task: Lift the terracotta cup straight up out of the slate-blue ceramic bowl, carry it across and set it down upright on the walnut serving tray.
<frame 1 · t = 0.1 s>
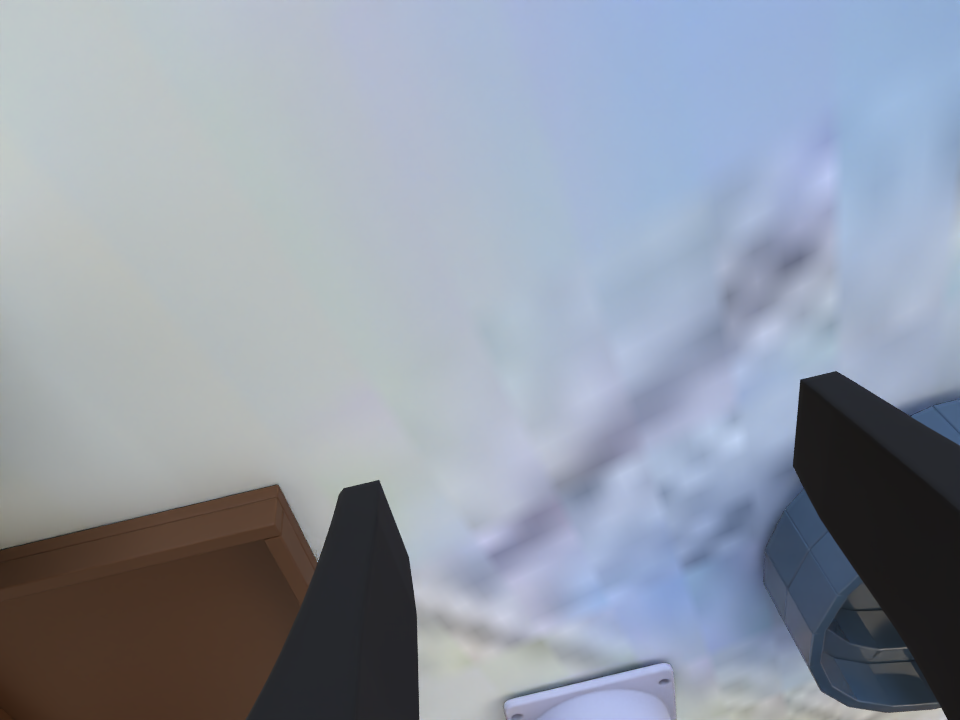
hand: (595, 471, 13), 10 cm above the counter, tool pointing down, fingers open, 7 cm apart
bowl: (921, 516, 32), on the counter
tray: (174, 663, 31), on the counter
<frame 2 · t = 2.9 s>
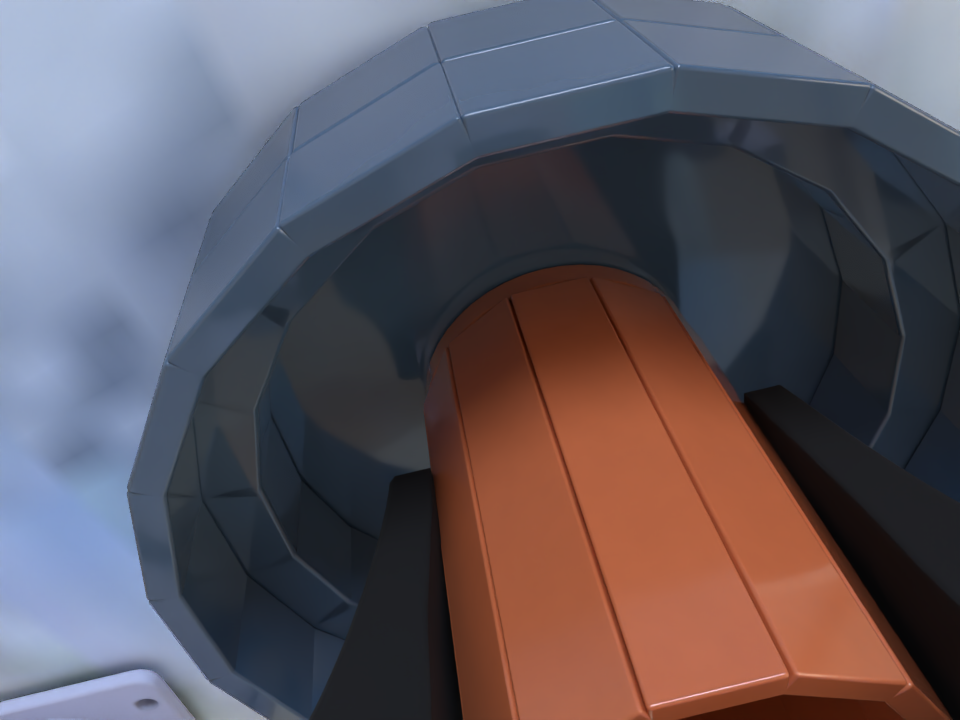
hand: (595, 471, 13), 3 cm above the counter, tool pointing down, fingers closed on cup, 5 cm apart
bowl: (556, 366, 15), on the counter
cup: (559, 382, 15), point 1 cm above the counter, touching bowl, gripper
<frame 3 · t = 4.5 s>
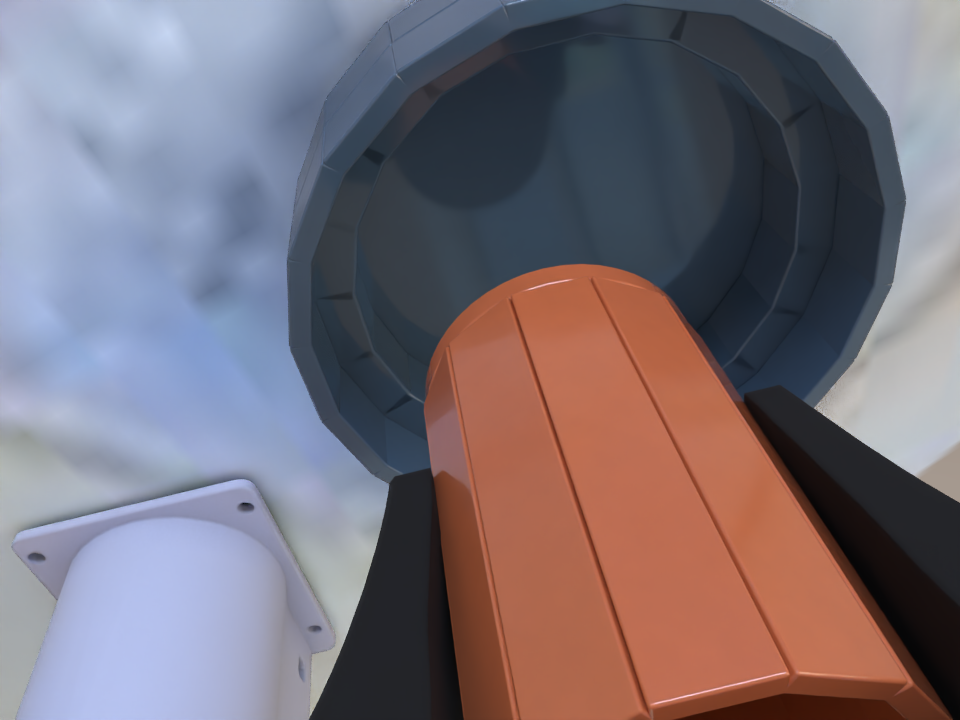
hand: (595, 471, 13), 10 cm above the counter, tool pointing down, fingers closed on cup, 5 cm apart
bowl: (559, 227, 21), on the counter
cup: (560, 381, 15), point 7 cm above the counter, touching gripper
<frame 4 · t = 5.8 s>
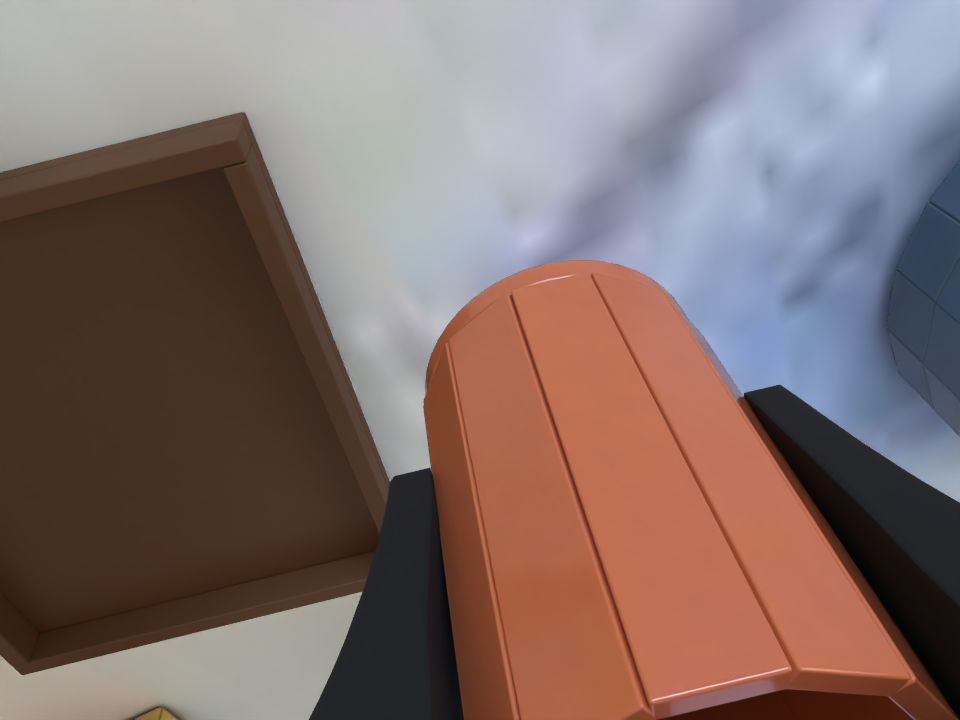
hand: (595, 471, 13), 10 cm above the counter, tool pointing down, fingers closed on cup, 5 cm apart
cup: (560, 378, 15), point 7 cm above the counter, touching gripper
tray: (119, 425, 23), on the counter
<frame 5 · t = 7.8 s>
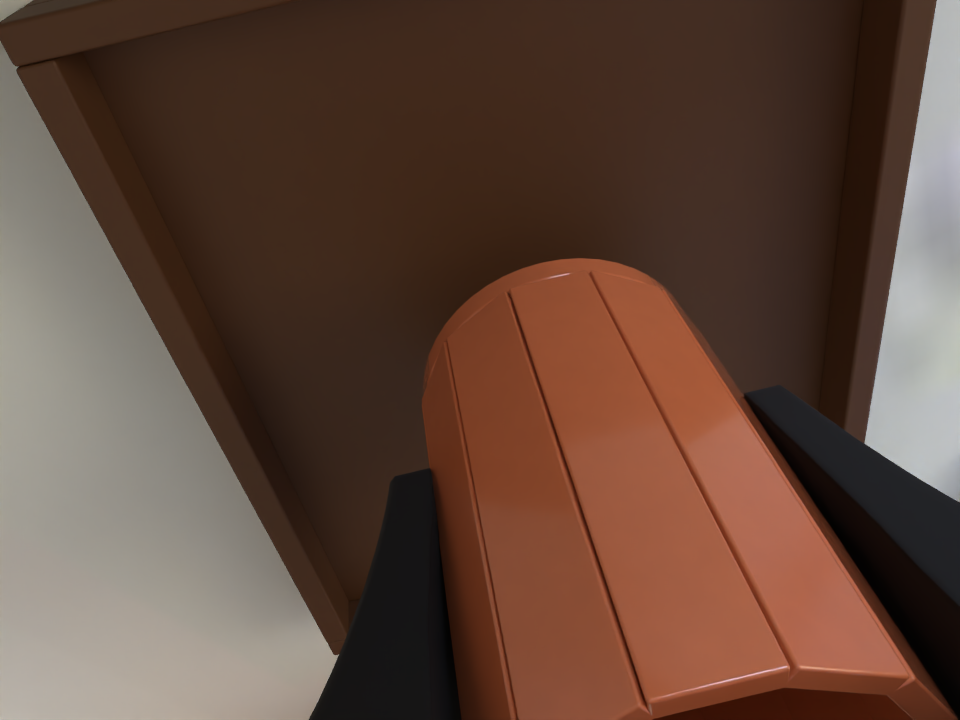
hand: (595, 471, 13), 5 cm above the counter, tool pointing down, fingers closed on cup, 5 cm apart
cup: (558, 377, 15), point 3 cm above the counter, touching gripper
tray: (536, 311, 17), on the counter
when the fingers open (3 cm above the counter, at t = 9.0 s): cup stays where it is, resting on tray.
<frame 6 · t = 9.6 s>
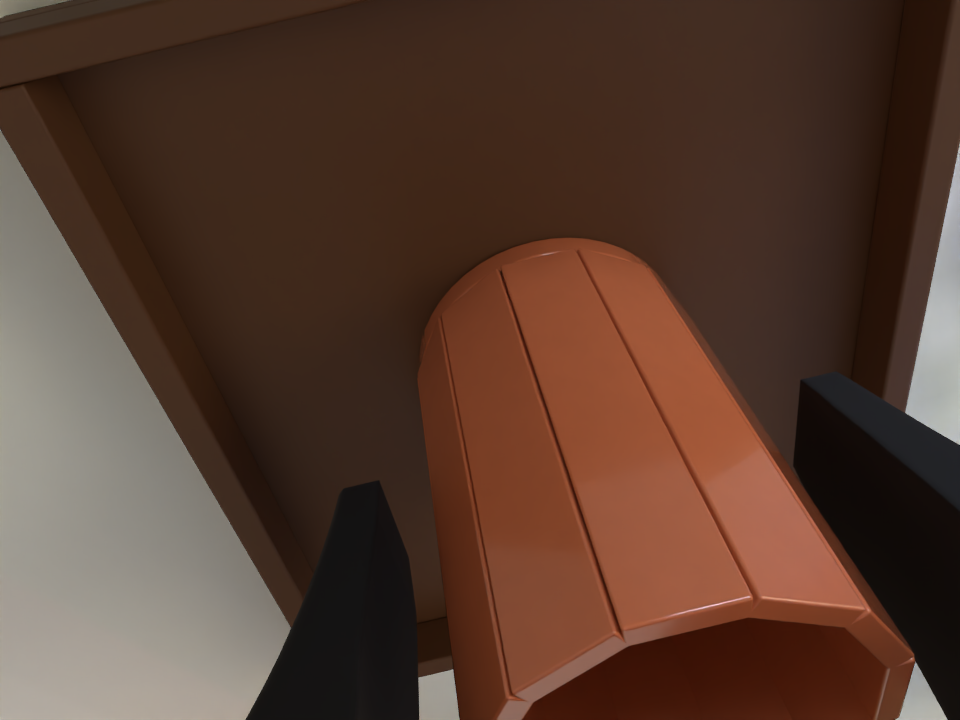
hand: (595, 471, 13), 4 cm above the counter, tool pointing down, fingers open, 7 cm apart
cup: (549, 354, 16), point 1 cm above the counter, touching tray
tray: (546, 342, 16), on the counter
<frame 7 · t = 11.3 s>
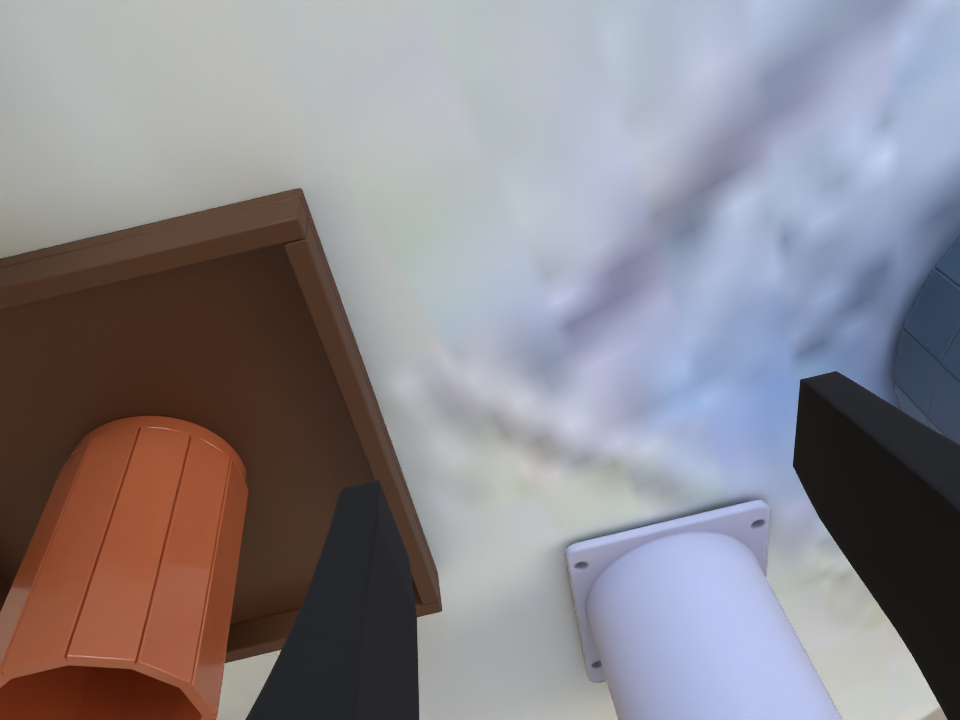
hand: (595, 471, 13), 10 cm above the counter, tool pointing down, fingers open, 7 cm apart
cup: (160, 479, 24), point 1 cm above the counter, touching tray
tray: (167, 468, 25), on the counter
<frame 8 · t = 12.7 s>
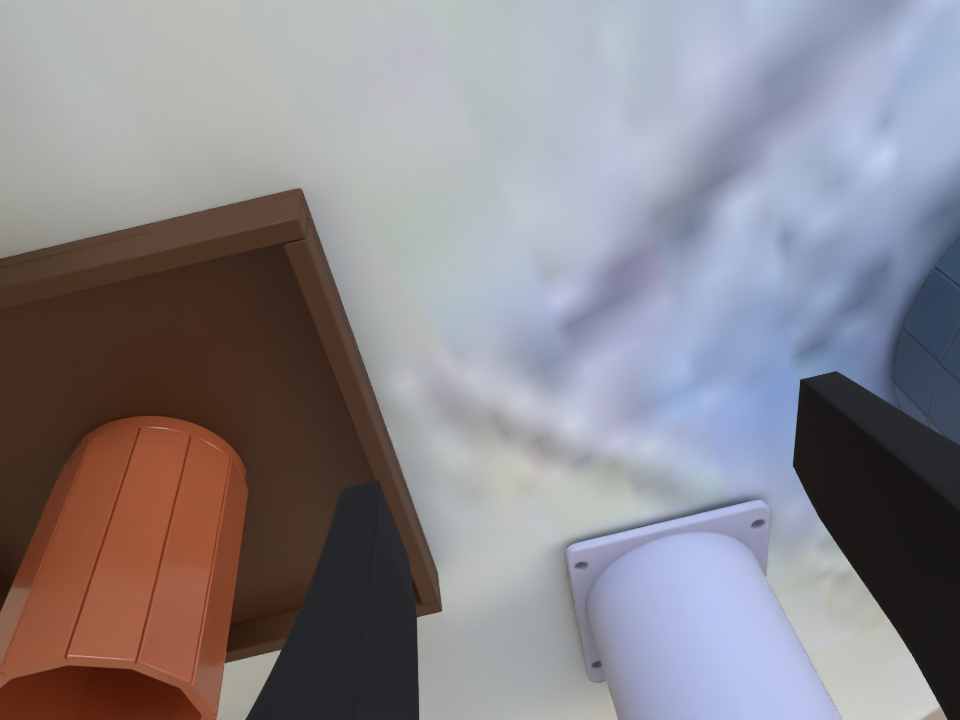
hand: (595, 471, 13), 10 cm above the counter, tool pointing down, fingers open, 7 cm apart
cup: (160, 479, 24), point 1 cm above the counter, touching tray
tray: (167, 468, 25), on the counter
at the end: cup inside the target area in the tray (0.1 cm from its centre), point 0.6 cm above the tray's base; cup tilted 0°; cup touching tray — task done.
